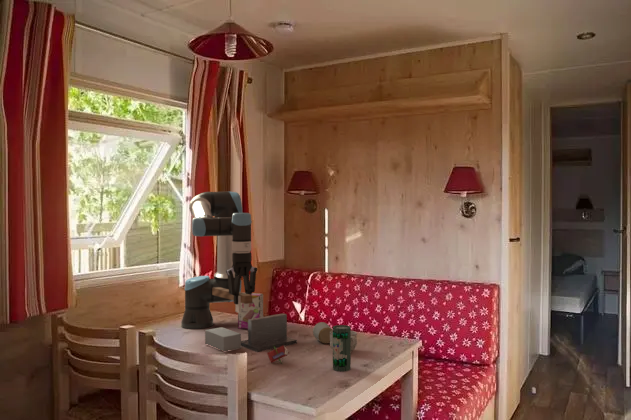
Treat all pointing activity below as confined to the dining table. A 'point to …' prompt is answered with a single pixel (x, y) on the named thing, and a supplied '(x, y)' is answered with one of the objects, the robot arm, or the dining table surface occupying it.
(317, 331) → the ceramic mug
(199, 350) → the dining table surface
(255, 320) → the metal ridge
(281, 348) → the geometric puzzle
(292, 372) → the dining table surface
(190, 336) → the dining table surface
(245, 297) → the walnut bar
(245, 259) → the robot arm
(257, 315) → the candy bar box
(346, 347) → the can
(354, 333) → the teacup
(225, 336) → the grey stand
